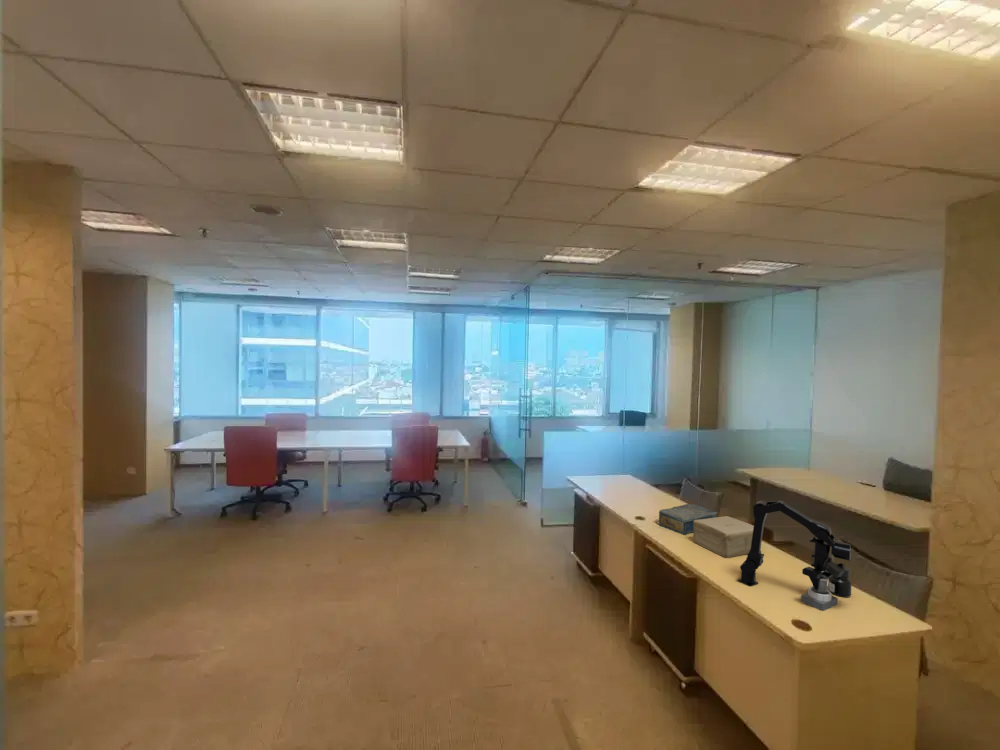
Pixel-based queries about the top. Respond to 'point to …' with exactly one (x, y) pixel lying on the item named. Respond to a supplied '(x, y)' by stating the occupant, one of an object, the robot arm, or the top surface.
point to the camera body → (819, 599)
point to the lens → (822, 585)
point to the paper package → (723, 535)
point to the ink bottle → (840, 584)
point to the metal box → (683, 517)
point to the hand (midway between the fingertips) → (819, 588)
